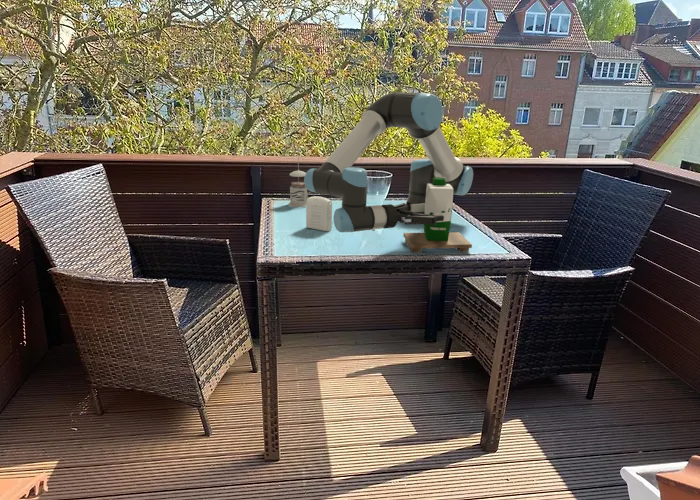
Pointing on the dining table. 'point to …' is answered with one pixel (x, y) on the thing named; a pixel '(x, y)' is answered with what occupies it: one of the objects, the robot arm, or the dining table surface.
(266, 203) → the dining table surface
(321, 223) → the photo printer
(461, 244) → the stand
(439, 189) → the soya milk
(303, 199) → the french press
